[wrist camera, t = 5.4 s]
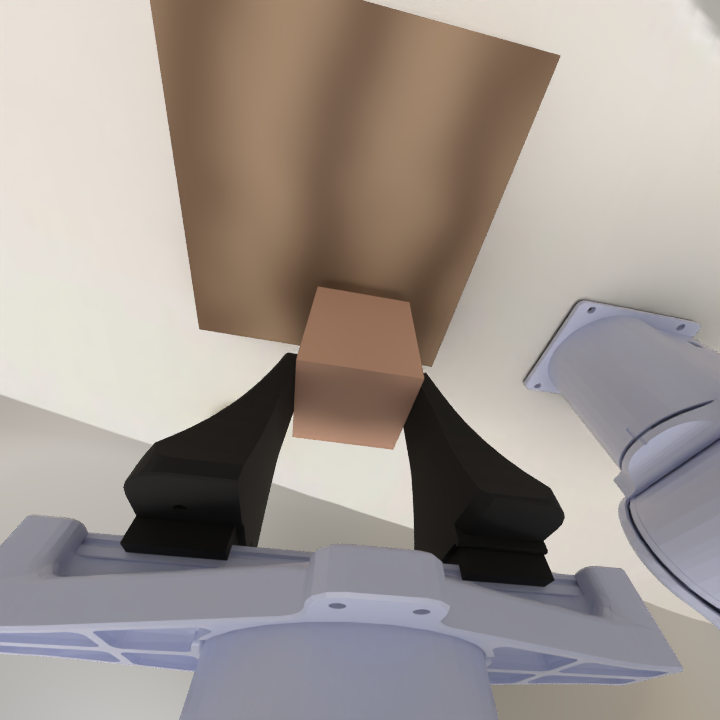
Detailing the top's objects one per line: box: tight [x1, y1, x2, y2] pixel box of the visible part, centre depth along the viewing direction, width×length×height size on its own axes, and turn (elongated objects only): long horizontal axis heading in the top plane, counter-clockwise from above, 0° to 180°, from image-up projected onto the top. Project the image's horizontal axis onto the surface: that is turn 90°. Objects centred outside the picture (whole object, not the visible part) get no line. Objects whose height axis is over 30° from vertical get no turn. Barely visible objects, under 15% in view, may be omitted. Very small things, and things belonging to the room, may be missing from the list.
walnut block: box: [150, 0, 560, 367], centre depth 17 cm, size 16×16×2 cm
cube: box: [293, 287, 424, 449], centre depth 15 cm, size 5×5×6 cm
